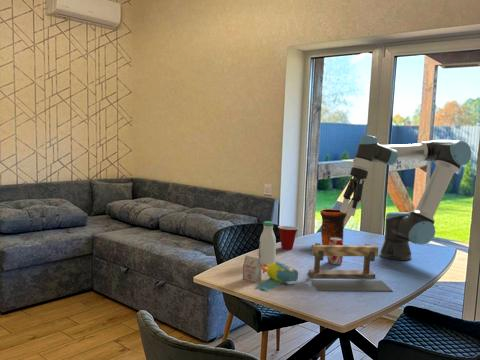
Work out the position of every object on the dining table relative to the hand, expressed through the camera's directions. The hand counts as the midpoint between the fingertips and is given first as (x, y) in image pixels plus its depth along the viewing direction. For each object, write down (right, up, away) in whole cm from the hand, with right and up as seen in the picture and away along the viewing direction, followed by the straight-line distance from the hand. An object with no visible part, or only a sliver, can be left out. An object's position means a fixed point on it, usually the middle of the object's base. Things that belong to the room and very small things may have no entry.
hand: (346, 214), depth 201 cm
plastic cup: (-23, -22, +38) cm, 49 cm away
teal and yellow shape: (-32, -28, -16) cm, 45 cm away
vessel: (+3, -22, +46) cm, 51 cm away
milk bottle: (-35, -24, +9) cm, 44 cm away
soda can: (-3, -25, +13) cm, 28 cm away
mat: (-3, -28, -20) cm, 34 cm away
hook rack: (-4, -27, -8) cm, 28 cm away
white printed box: (-43, -27, -15) cm, 53 cm away
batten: (-3, -17, -10) cm, 20 cm away
